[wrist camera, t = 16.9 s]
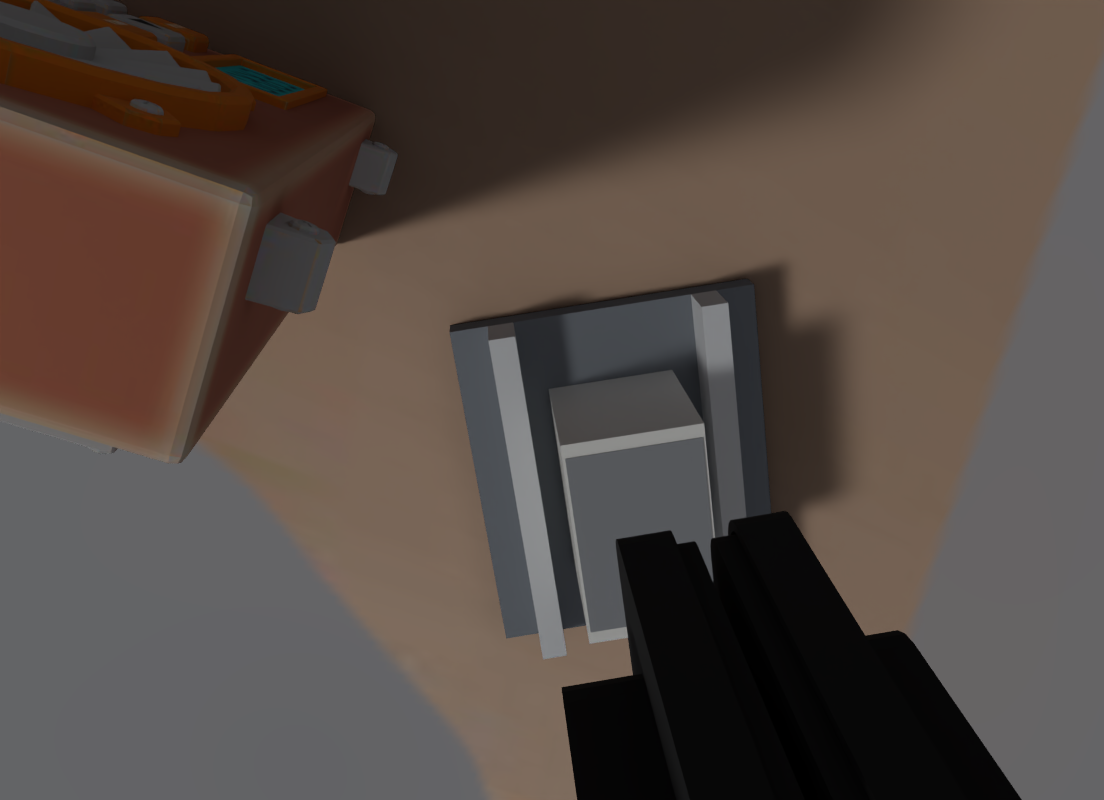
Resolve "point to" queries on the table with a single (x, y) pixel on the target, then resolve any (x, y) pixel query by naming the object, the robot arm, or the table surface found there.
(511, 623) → the grey rail base plate
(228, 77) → the orange upright battery pack
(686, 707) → the robot arm
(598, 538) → the block
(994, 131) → the table surface
